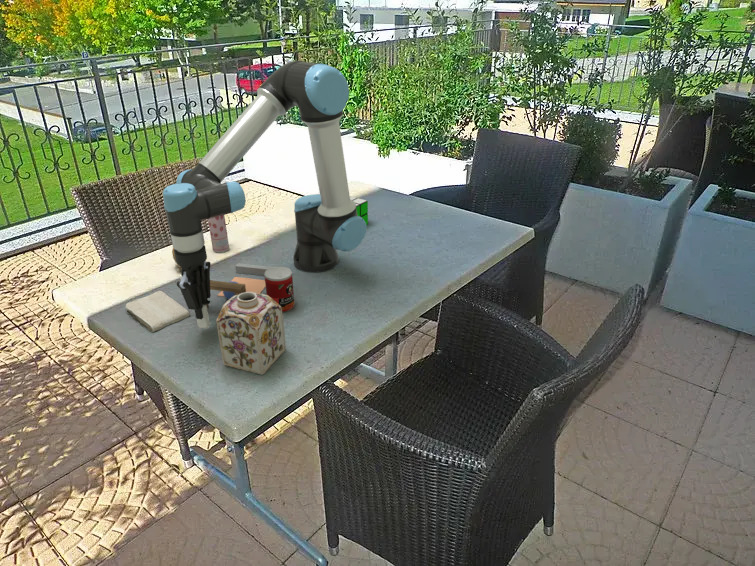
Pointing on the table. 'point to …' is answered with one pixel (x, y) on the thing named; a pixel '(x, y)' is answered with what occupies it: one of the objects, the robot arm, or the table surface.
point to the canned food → (280, 286)
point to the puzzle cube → (361, 208)
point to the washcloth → (156, 311)
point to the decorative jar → (251, 332)
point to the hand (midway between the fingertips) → (204, 326)
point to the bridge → (227, 287)
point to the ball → (229, 293)
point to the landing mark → (249, 285)
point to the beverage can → (218, 234)
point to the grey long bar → (251, 269)
